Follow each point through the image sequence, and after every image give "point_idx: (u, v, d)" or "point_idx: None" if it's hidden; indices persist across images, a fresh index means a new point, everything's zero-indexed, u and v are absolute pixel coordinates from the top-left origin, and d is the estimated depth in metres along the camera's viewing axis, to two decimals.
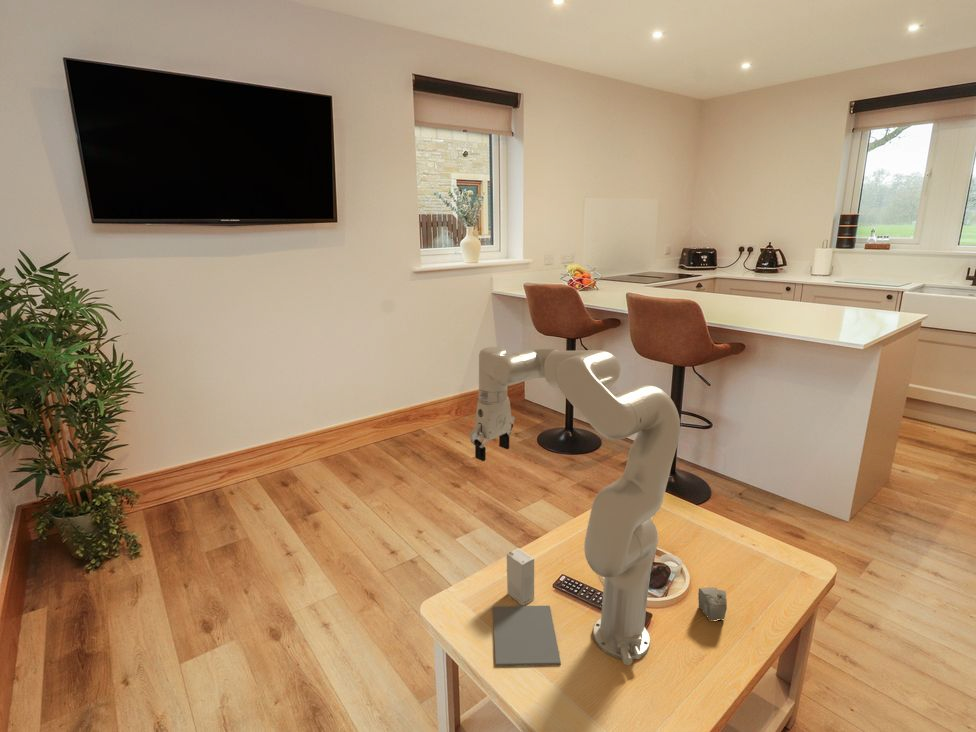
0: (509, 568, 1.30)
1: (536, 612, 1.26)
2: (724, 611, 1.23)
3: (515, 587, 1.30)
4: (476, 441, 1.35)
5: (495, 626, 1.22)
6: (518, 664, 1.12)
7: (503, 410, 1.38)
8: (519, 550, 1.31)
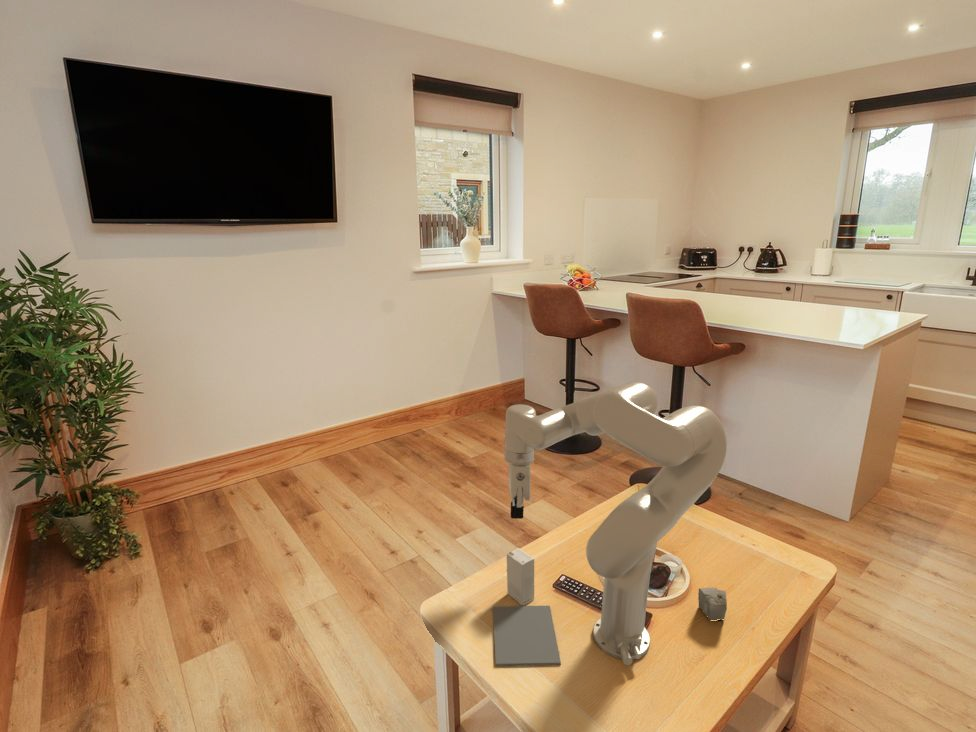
0: (509, 568, 1.30)
1: (536, 612, 1.26)
2: (724, 611, 1.23)
3: (515, 587, 1.30)
4: (521, 501, 1.32)
5: (495, 626, 1.22)
6: (518, 664, 1.12)
7: None
8: (519, 550, 1.31)
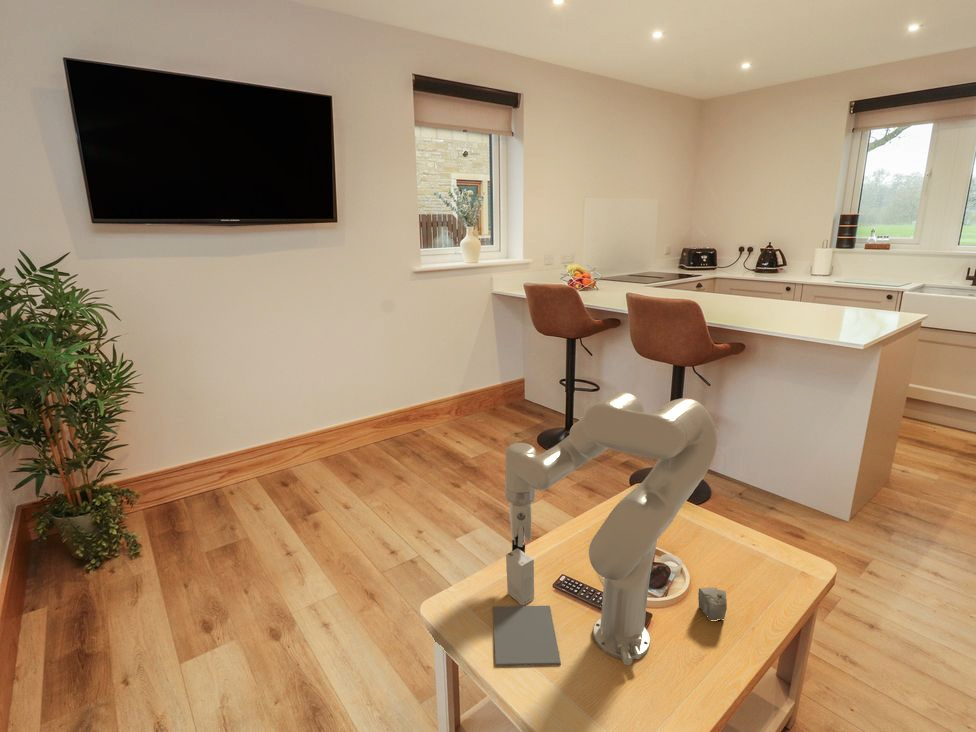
0: (509, 568, 1.30)
1: (536, 612, 1.26)
2: (724, 611, 1.23)
3: (515, 588, 1.30)
4: (523, 540, 1.31)
5: (495, 626, 1.22)
6: (518, 664, 1.12)
7: None
8: (518, 550, 1.31)
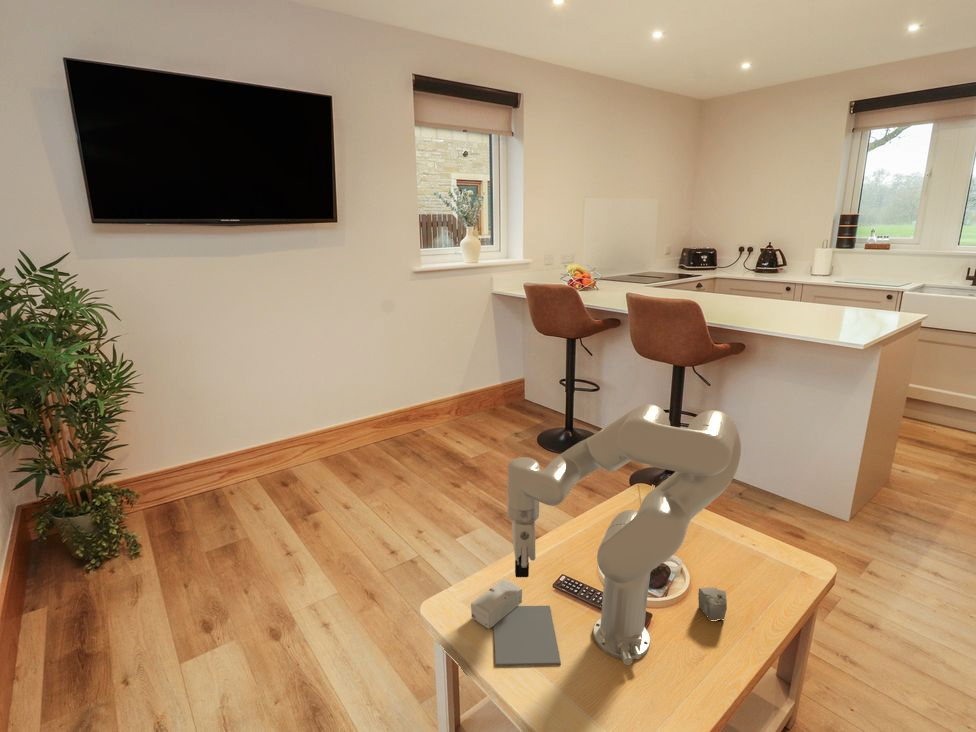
0: None
1: (536, 612, 1.26)
2: (724, 611, 1.23)
3: None
4: (526, 560, 1.24)
5: (495, 626, 1.22)
6: (518, 664, 1.12)
7: None
8: (474, 607, 1.23)
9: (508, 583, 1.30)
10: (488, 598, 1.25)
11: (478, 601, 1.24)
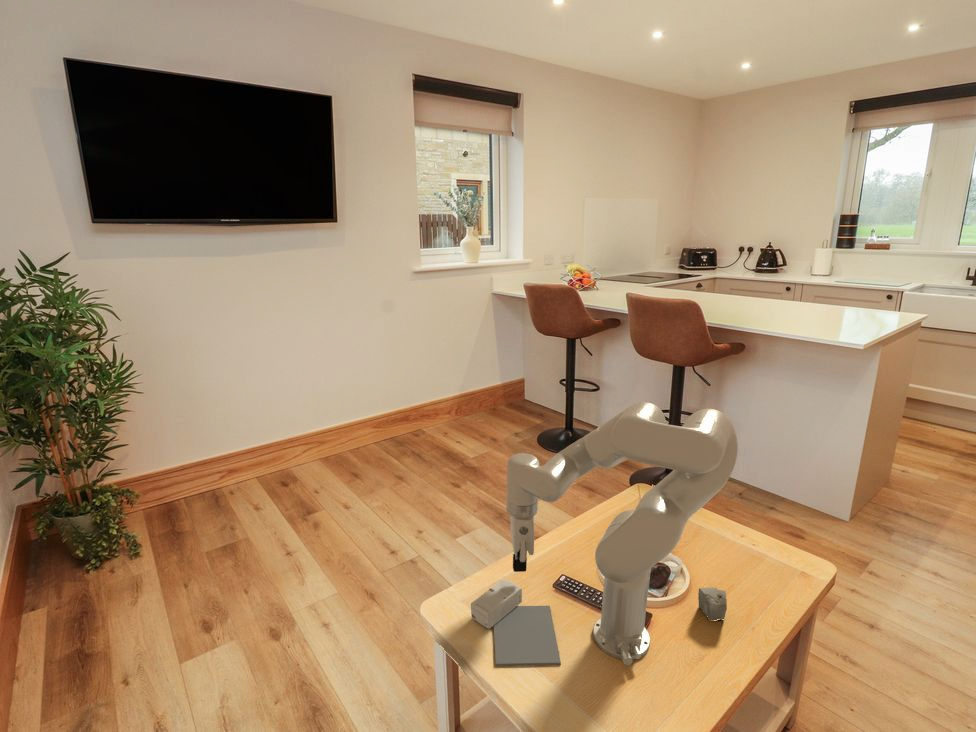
0: None
1: (536, 612, 1.26)
2: (724, 611, 1.23)
3: None
4: (525, 555, 1.25)
5: (495, 626, 1.22)
6: (518, 664, 1.12)
7: None
8: (473, 608, 1.23)
9: (508, 583, 1.30)
10: (488, 598, 1.25)
11: (477, 601, 1.24)
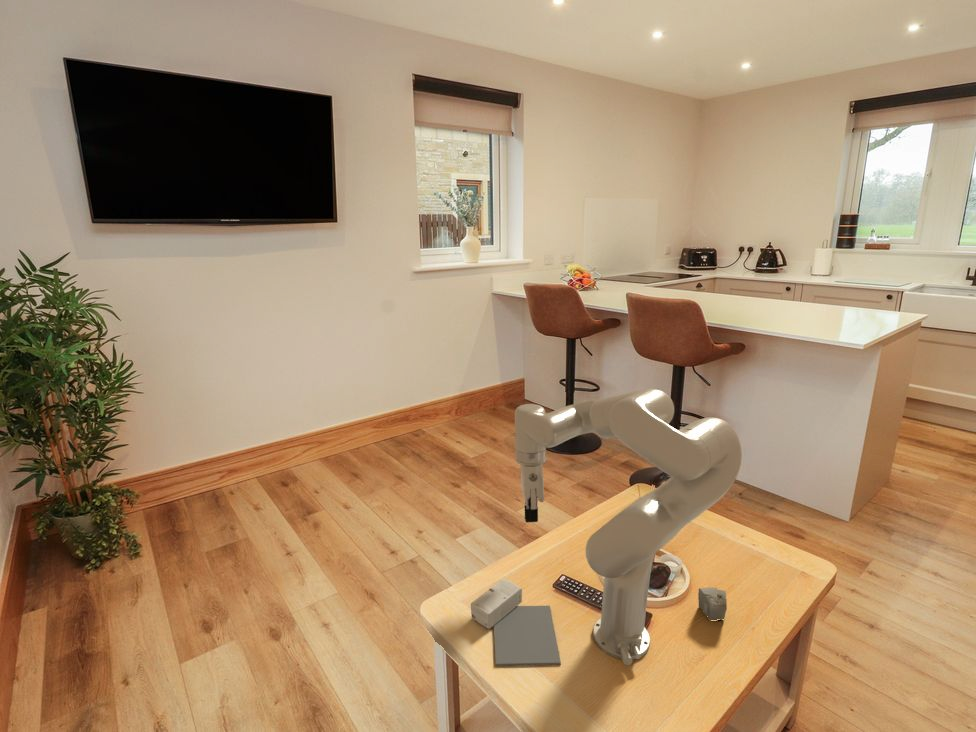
0: None
1: (536, 612, 1.26)
2: (724, 611, 1.23)
3: None
4: (535, 503, 1.29)
5: (495, 626, 1.22)
6: (518, 664, 1.12)
7: None
8: (473, 608, 1.23)
9: (508, 583, 1.30)
10: (488, 598, 1.25)
11: (477, 601, 1.24)
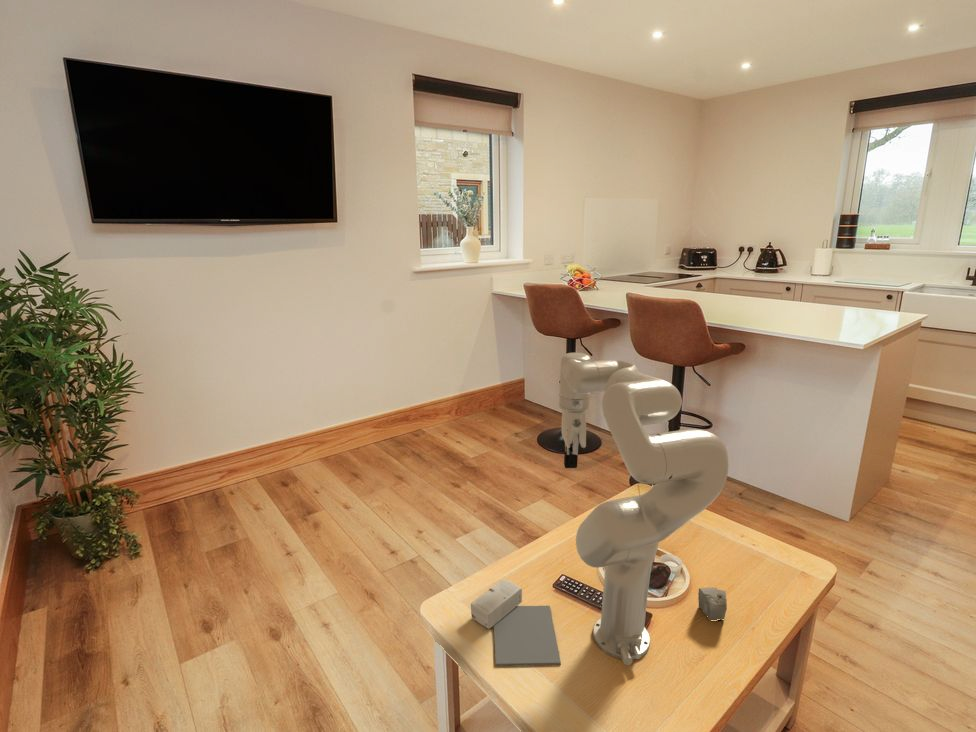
0: None
1: (536, 612, 1.26)
2: (724, 611, 1.23)
3: None
4: None
5: (495, 626, 1.22)
6: (518, 664, 1.12)
7: None
8: (473, 608, 1.23)
9: (508, 583, 1.30)
10: (488, 598, 1.25)
11: (477, 601, 1.24)
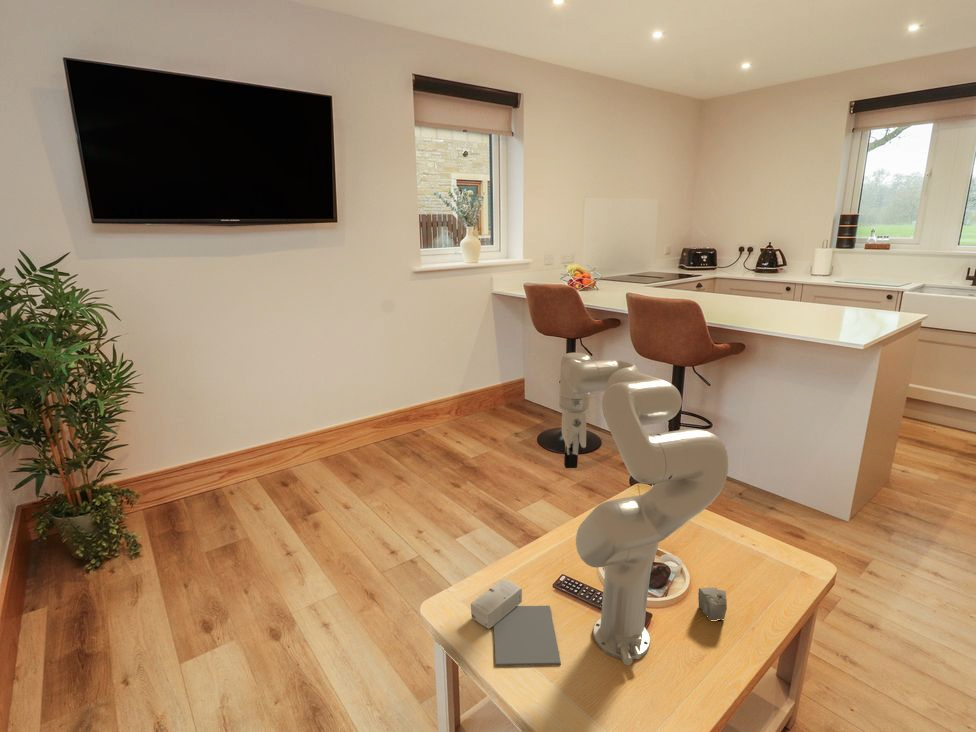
0: None
1: (536, 612, 1.26)
2: (724, 611, 1.23)
3: None
4: None
5: (495, 626, 1.22)
6: (518, 664, 1.12)
7: None
8: (473, 608, 1.23)
9: (508, 583, 1.30)
10: (488, 598, 1.25)
11: (477, 601, 1.24)
